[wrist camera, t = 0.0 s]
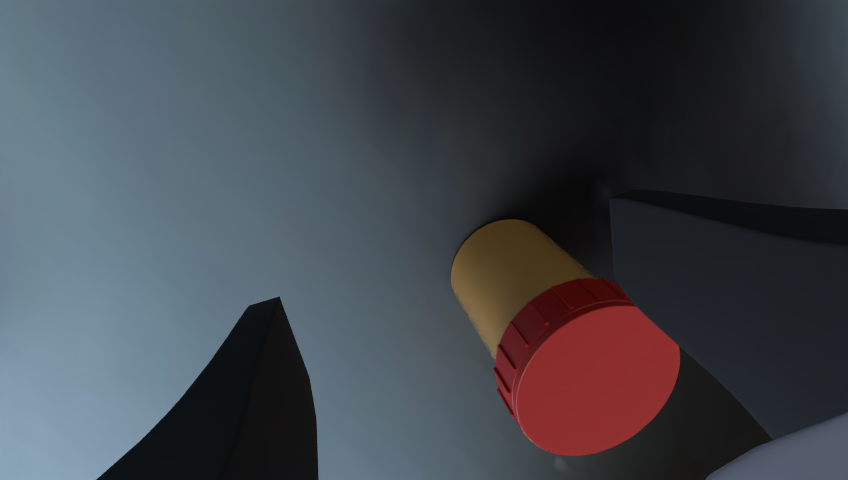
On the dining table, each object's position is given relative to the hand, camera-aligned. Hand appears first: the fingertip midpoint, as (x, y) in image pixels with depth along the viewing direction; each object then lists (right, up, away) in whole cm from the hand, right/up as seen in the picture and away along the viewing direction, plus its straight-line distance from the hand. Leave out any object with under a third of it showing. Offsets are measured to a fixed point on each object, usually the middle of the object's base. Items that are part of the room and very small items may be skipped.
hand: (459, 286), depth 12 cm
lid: (+4, -3, +5) cm, 8 cm away
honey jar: (+3, 0, +12) cm, 12 cm away
